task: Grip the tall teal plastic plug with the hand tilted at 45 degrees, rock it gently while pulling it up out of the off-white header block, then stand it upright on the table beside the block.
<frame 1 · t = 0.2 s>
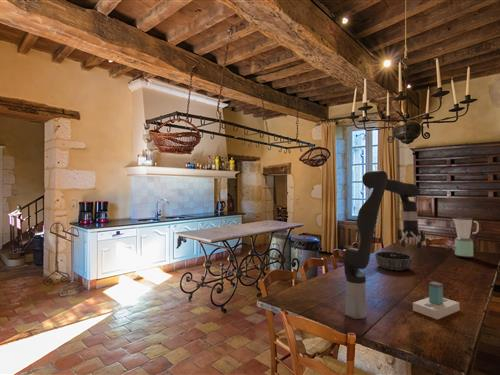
hand: (411, 248, 167), 29 cm above the table, tool pointing down, fingers open, 8 cm apart
bundt pan: (393, 268, 229), on the table
plug: (435, 296, 151), in the header
blender: (465, 257, 258), on the table
header: (436, 310, 151), on the table
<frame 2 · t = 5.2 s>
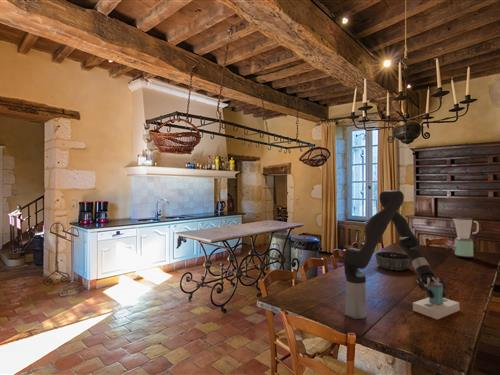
hand: (438, 297, 149), 7 cm above the table, tool tilted 45°, fingers closed on plug, 5 cm apart
plug: (436, 296, 151), in the header, touching gripper
everything else where it was.
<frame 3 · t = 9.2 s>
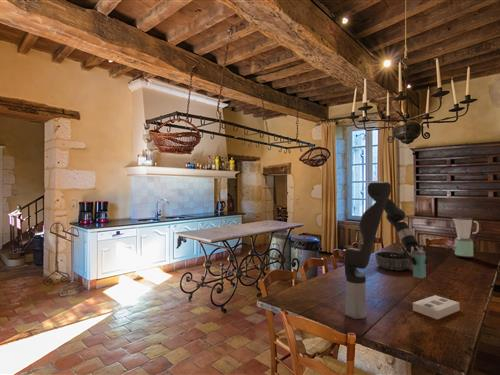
hand: (421, 264, 159), 22 cm above the table, tool tilted 45°, fingers closed on plug, 5 cm apart
plug: (419, 263, 161), point 21 cm above the table, touching gripper
everything else where it was.
when the fingers open (9 cm above the table, at t = 13.1 s): plug drops 1 cm, on the table.
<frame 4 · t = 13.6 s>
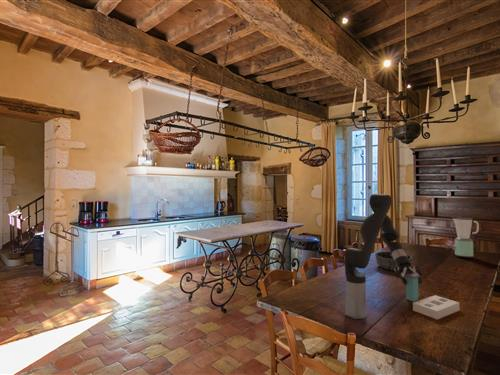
hand: (413, 284, 164), 9 cm above the table, tool tilted 45°, fingers open, 8 cm apart
plug: (412, 287, 166), on the table
everything else where it was.
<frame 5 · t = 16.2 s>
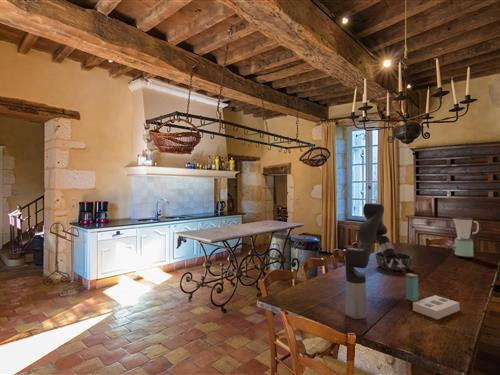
hand: (399, 274, 177), 11 cm above the table, tool tilted 45°, fingers open, 8 cm apart
nothing on the table moved.
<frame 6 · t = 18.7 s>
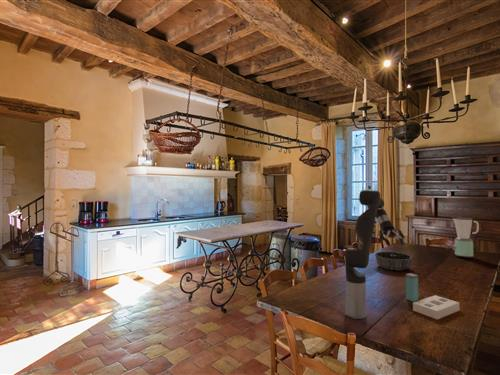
hand: (396, 245, 176), 29 cm above the table, tool tilted 45°, fingers open, 8 cm apart
nothing on the table moved.
at the end: plug touching table; plug inside the target area (0.1 cm from its centre), on the table; plug tilted 0° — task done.
